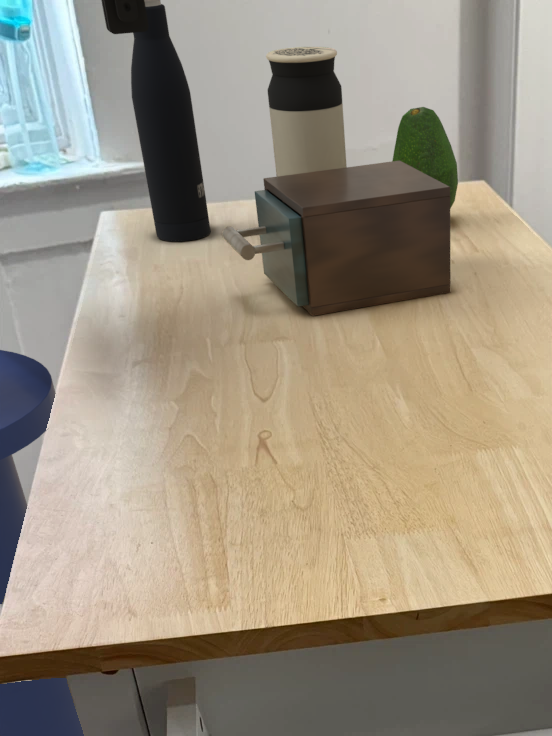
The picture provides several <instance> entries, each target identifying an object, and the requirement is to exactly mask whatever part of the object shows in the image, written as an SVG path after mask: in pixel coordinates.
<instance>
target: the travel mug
mask: <svg viewBox="0 0 552 736" xmlns="http://www.w3.org/2000/svg"><path fill="white" fill-rule="evenodd" d="M337 55H338V51H337V50H336V49H335V48H332V47H327V46H293V47H285V48H279V49H275V50H270V51H268V52H267V53H266V55H265V57H266V60H268V63H269V66H270V71H271V78H270V81H269V84H268V87H267V100H268V107H269V117H270V119H269V120H270V126H271V128H270V129H271V136H272V147H273V155H274V156H273V158H274V165H275V166H274V167H275V174H276V176H275V177H278V176H285V175H293V174H300V173H308V172H316V171H323V170H331V169H339V168H346V167H348V166H347V153H346V152H347V151H346V136H345V121H344V105H343V90H342V84H341V82H340V81H339V78H338V77H337V74H336V73H335V60H336V57H337Z"/></svg>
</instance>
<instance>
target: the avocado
mask: <svg viewBox="0 0 552 736" xmlns="http://www.w3.org/2000/svg"><path fill="white" fill-rule="evenodd" d="M392 155H393V156H392V161H401V162H403V163H405V164H407V165H409V166H411V167H413V168H415V169H417V170H419V171H421V172H422V173H424V174H426V175H428V176H430V177H432V178H434V179H436V180H438V181H440V182H442V183H443V184H445V185H447V186H449V187H450V210H451V209H452V207H453V205H454V203H455V201H456V197H457V190H458V185H459V175H458V174H459V173H458V162H457V160H456V157H455V153H454V150H453V147H452V144H451V142H450V139H449V137H448V134H447V132H446V130H445V127H444V125H443V123H442V121H441V119H440V117H439V116H438V114H437V113H436V112H435V110H434V109H431V108H428V107H425V106H419V107H414V108H410V109H409V110H408V111H406V113H404V114H403V115H402V116H401V119H400V122H399V124H398V128H397V133H396V139H395V145H394V148H393V154H392Z"/></svg>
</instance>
